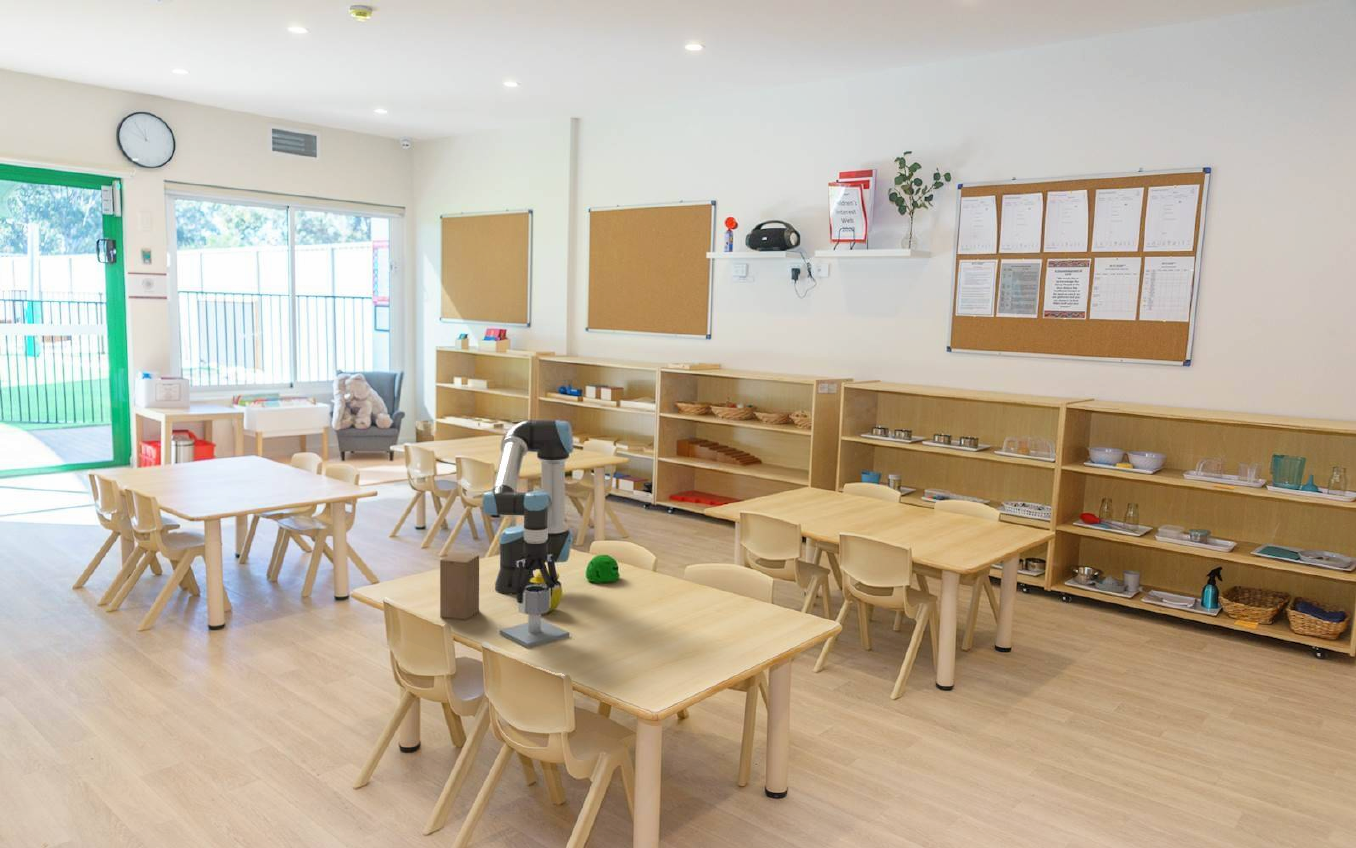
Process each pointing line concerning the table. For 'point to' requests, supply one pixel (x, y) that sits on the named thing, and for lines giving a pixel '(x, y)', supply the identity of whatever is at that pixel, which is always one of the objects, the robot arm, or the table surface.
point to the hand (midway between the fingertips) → (534, 609)
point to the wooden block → (459, 586)
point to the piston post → (534, 632)
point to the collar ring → (537, 599)
